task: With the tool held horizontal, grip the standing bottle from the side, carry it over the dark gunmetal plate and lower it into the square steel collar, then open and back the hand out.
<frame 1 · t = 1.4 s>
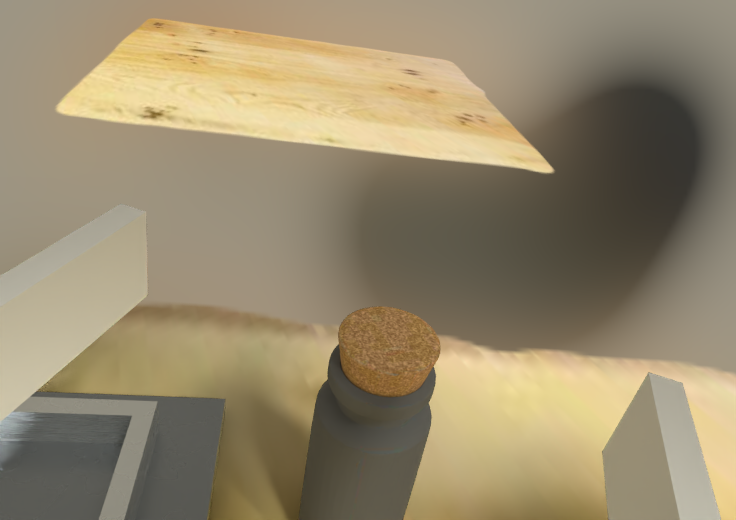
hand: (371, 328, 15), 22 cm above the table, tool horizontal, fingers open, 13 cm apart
collar plate: (43, 514, 32), on the table
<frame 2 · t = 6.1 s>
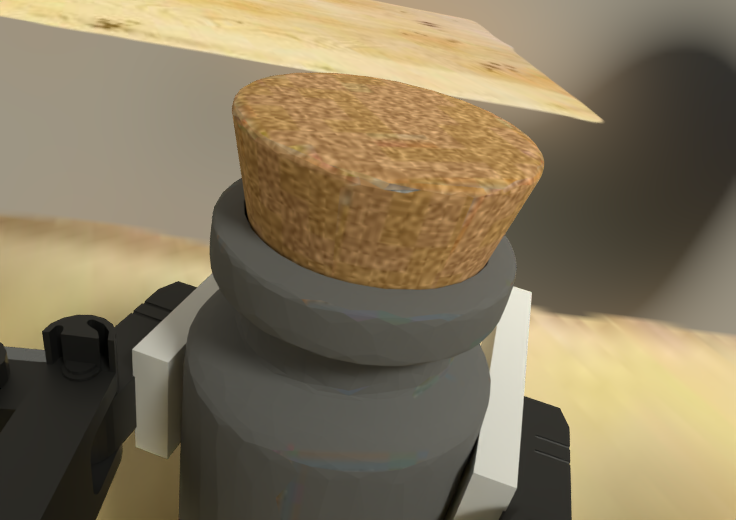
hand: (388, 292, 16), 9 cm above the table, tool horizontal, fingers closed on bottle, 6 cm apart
when the fingers open (11 cm above the table, at t = 10.4 s): bottle drops 1 cm, resting on collar plate.
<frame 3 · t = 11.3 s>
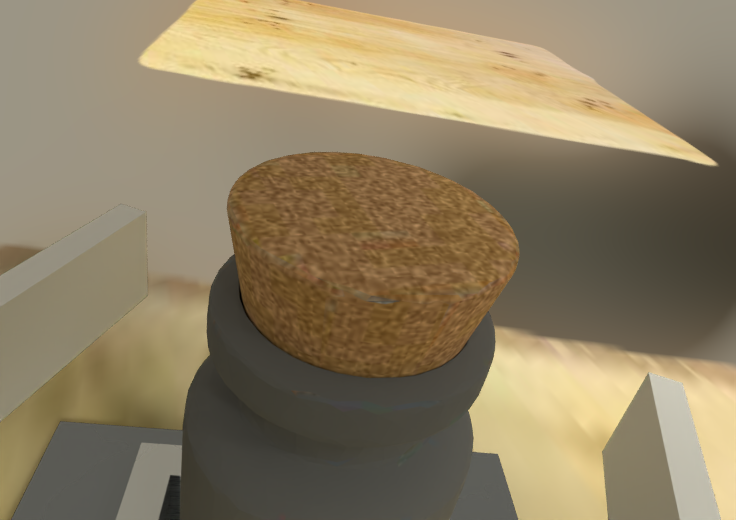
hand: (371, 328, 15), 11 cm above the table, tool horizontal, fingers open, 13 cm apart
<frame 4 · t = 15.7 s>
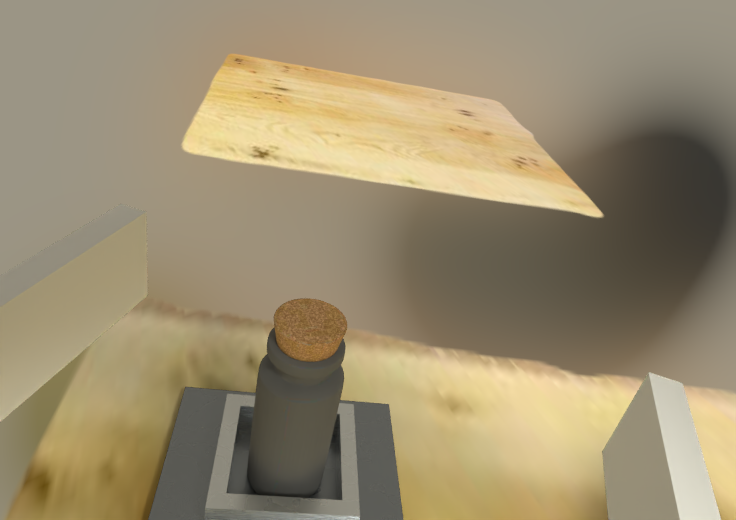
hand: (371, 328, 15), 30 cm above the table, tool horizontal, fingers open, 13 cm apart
collar plate: (282, 481, 45), on the table
bottle: (284, 473, 45), point 1 cm above the table, touching collar plate
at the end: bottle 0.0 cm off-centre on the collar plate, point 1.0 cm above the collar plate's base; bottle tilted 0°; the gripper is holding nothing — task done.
